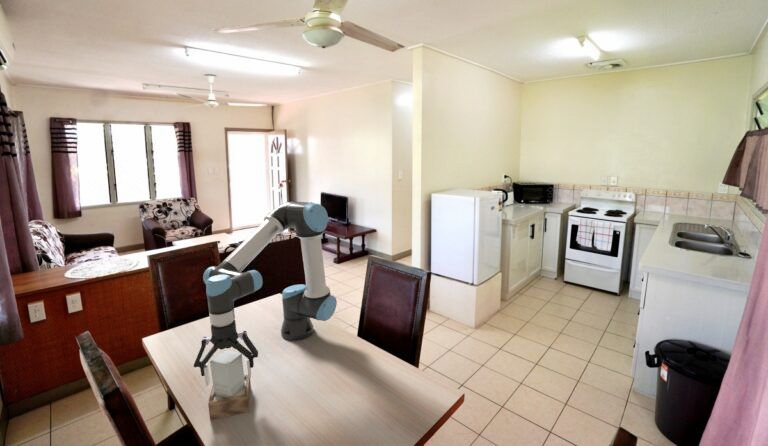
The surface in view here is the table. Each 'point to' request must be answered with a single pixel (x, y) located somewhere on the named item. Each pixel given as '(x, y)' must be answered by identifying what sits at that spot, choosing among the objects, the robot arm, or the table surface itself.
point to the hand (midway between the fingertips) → (229, 379)
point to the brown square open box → (230, 402)
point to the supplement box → (227, 374)
